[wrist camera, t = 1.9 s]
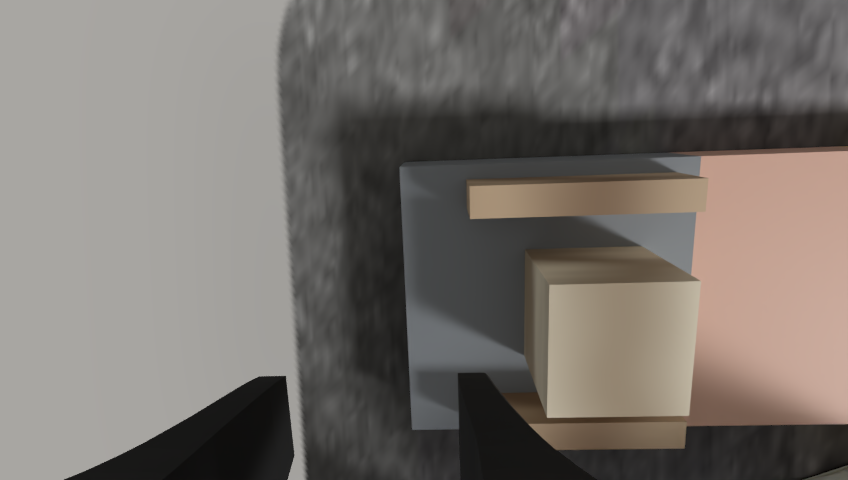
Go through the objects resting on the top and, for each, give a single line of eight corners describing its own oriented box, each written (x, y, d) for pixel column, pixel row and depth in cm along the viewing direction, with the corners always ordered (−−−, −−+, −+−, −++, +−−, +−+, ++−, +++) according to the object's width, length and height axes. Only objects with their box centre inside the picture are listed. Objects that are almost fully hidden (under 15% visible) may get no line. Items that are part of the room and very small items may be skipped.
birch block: (524, 355, 18) (546, 417, 14) (525, 249, 17) (549, 284, 13) (635, 353, 18) (689, 415, 14) (641, 246, 17) (701, 281, 13)
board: (415, 395, 21) (411, 429, 19) (404, 162, 19) (399, 167, 17) (958, 386, 20) (1028, 421, 18) (1012, 139, 18) (1100, 142, 16)
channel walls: (470, 417, 19) (474, 450, 17) (466, 179, 17) (469, 186, 15) (658, 414, 18) (684, 448, 16) (677, 172, 16) (708, 178, 15)
